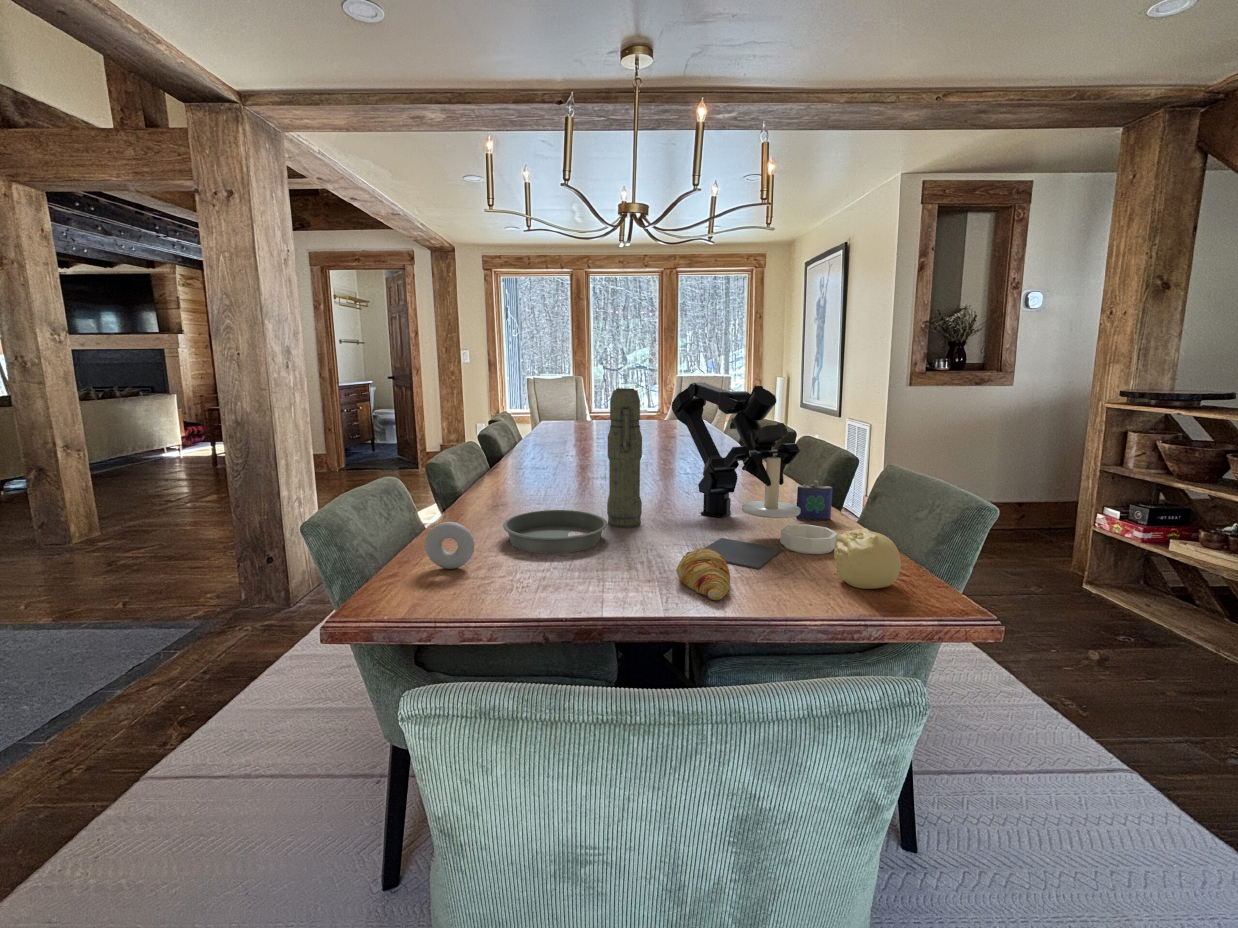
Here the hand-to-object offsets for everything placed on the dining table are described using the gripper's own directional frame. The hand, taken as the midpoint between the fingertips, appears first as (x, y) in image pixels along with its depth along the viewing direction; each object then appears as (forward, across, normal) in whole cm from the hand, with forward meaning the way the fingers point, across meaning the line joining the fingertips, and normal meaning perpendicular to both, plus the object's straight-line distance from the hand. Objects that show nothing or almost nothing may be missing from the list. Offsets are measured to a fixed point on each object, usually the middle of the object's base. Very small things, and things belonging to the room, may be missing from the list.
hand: (775, 484), depth 146 cm
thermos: (-9, -27, +28) cm, 41 cm away
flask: (+2, +22, +18) cm, 28 cm away
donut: (+4, -74, +16) cm, 76 cm away
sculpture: (+31, -1, -12) cm, 33 cm away
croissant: (+23, -30, -3) cm, 38 cm away
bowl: (+15, +4, +4) cm, 16 cm away
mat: (+14, -14, +5) cm, 20 cm away
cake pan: (-4, -48, +24) cm, 54 cm away
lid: (+4, 0, +6) cm, 7 cm away
